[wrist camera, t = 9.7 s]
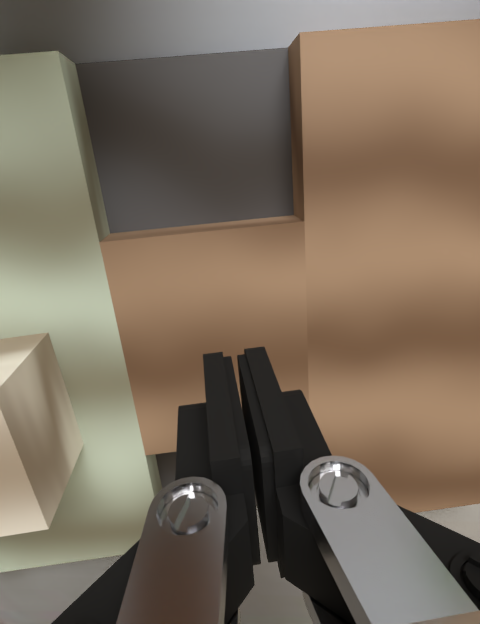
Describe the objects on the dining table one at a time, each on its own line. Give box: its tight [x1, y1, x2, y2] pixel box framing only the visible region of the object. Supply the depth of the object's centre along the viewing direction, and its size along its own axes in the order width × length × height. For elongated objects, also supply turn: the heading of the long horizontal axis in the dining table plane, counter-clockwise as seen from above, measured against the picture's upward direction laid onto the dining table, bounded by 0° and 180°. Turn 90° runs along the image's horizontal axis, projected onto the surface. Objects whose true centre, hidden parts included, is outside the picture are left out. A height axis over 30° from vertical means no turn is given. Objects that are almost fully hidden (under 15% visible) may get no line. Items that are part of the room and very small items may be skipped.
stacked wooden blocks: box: [0, 19, 480, 572], centre depth 16 cm, size 20×25×3 cm
